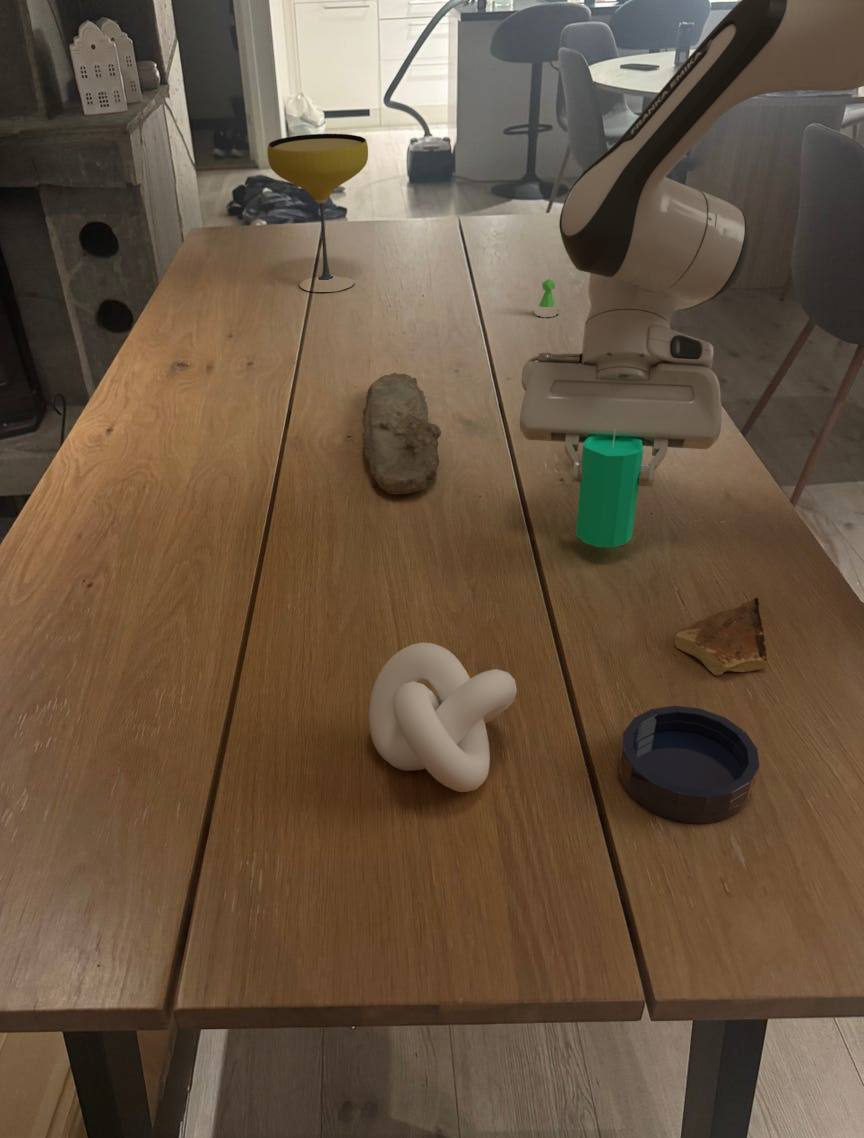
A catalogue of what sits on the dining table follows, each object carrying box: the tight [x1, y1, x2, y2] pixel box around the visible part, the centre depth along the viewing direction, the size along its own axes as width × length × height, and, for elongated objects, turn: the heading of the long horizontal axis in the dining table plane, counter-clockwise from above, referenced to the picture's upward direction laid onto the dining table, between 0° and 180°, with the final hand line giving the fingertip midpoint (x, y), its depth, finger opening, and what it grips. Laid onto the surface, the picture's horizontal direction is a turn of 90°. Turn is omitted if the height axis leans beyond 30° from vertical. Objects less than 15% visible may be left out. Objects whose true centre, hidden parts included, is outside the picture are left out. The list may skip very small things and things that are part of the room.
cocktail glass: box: [267, 133, 369, 280], centre depth 179 cm, size 18×18×25 cm
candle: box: [575, 429, 644, 548], centre depth 99 cm, size 6×6×12 cm
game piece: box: [538, 278, 556, 307], centre depth 166 cm, size 4×4×6 cm
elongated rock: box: [361, 372, 442, 495], centre depth 127 cm, size 35×5×10 cm
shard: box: [674, 597, 769, 676], centre depth 89 cm, size 11×8×2 cm
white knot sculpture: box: [368, 642, 518, 793], centre depth 77 cm, size 11×12×9 cm
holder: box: [618, 705, 760, 825], centre depth 76 cm, size 10×10×3 cm
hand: (612, 483), depth 99 cm, fingers closed on candle, 5 cm apart
